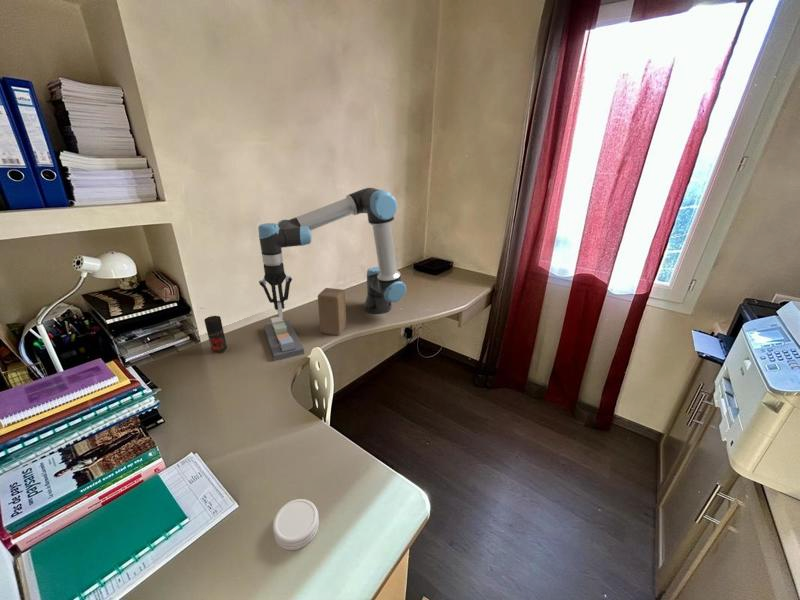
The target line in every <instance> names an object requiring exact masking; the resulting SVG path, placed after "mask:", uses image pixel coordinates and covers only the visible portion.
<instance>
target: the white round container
mask: <svg viewBox="0 0 800 600" xmlns="http://www.w3.org/2000/svg"><path fill="white" fill-rule="evenodd" d="M319 526H320V519H319V510H318V509H317V507H316V505H315V504H314V503H313V502H312V501H311V500H308V499H304V498H297V499H294V500H290V501H289V502H287V503H284V505H282V506H281V507H280V509H278V511H277V513H276V515H275V516H274V519H273V523H272V532H273V537H274V540H275V542H276V543H277V545H278V546H279V547H280V548H282V549H283V550H286V551H296V550H299V549H302V548H304V547H306V546H307V545H308V544H310V543H311V542H312V541H313V539H314V538H315V536H316V535H317V533H318V530H319Z"/></svg>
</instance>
